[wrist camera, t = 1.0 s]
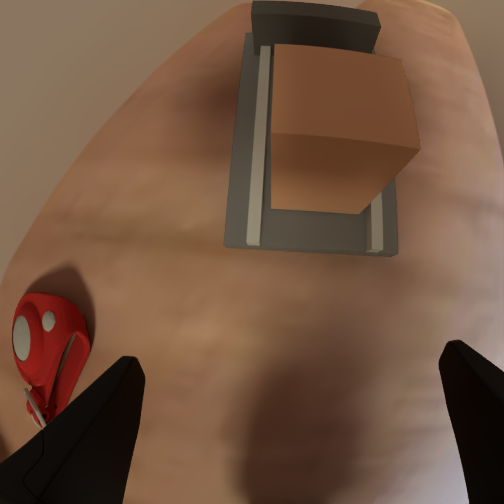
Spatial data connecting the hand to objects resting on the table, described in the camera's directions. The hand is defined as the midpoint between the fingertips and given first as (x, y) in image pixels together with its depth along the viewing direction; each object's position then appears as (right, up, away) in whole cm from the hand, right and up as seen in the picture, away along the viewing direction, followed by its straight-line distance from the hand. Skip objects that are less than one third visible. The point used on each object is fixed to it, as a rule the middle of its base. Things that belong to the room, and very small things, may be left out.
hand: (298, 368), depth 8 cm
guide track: (+4, +13, +16) cm, 21 cm away
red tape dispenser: (-19, -6, +14) cm, 25 cm away
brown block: (+3, +8, +13) cm, 16 cm away
